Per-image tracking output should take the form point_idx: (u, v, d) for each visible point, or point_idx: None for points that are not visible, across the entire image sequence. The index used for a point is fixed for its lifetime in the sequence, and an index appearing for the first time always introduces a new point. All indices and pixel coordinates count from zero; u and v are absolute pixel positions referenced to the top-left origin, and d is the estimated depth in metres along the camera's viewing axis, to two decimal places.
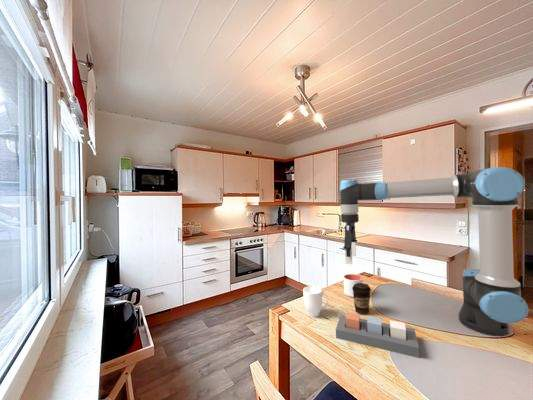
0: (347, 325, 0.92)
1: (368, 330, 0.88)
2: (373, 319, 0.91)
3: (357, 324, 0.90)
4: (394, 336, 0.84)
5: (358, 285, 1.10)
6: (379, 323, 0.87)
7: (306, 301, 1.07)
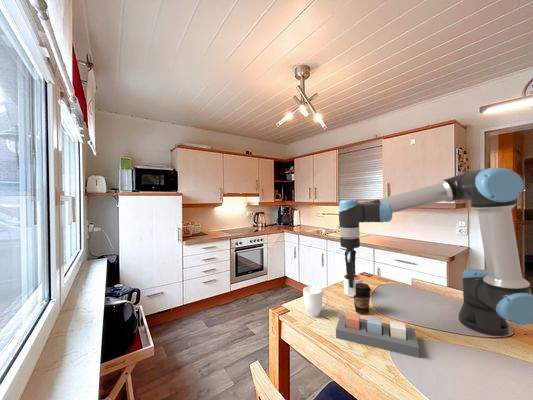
0: (347, 325, 0.92)
1: (368, 330, 0.88)
2: (373, 319, 0.91)
3: (357, 324, 0.90)
4: (394, 336, 0.84)
5: (358, 285, 1.10)
6: (379, 323, 0.87)
7: (306, 301, 1.07)
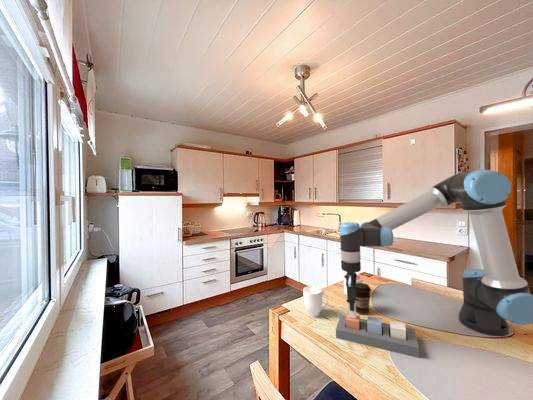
0: (347, 326, 0.92)
1: (368, 330, 0.88)
2: (373, 319, 0.91)
3: (357, 325, 0.90)
4: (394, 336, 0.84)
5: (358, 285, 1.10)
6: (379, 323, 0.87)
7: (306, 301, 1.07)
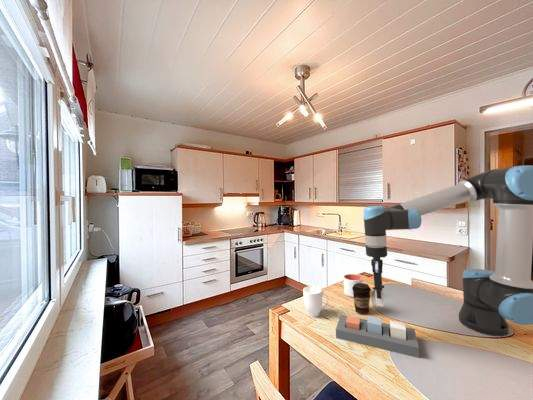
0: None
1: (368, 330, 0.88)
2: (373, 319, 0.91)
3: (357, 328, 0.90)
4: (394, 336, 0.84)
5: (358, 285, 1.10)
6: (379, 323, 0.87)
7: (306, 301, 1.07)
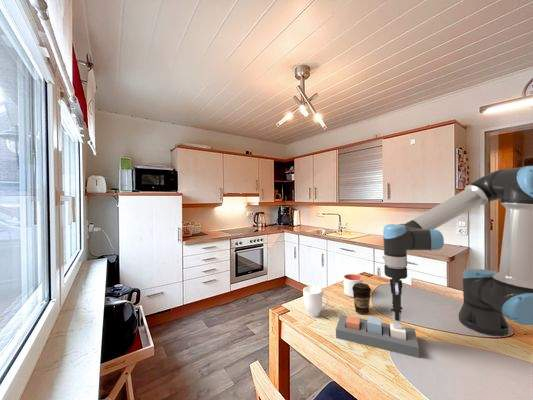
0: None
1: (368, 330, 0.88)
2: (373, 319, 0.91)
3: (357, 328, 0.90)
4: None
5: (358, 285, 1.10)
6: (379, 323, 0.87)
7: (306, 301, 1.07)
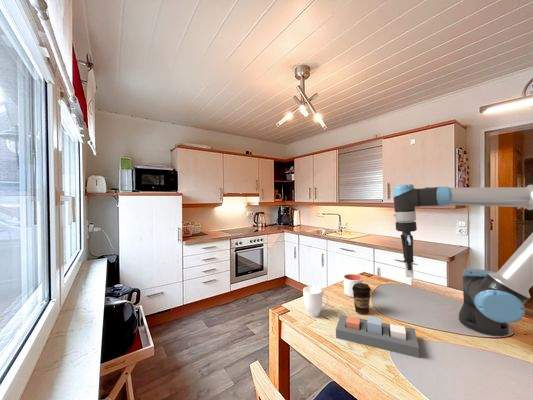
0: None
1: (368, 330, 0.88)
2: (373, 319, 0.91)
3: (357, 328, 0.90)
4: None
5: (358, 285, 1.10)
6: (379, 323, 0.87)
7: (306, 301, 1.07)
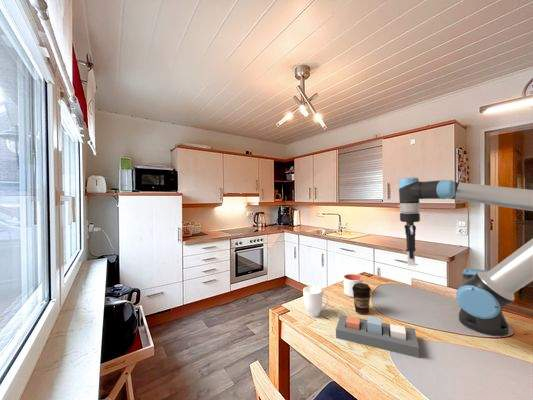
0: None
1: (368, 330, 0.88)
2: (373, 319, 0.91)
3: (357, 328, 0.90)
4: None
5: (358, 285, 1.10)
6: (379, 323, 0.87)
7: (306, 301, 1.07)
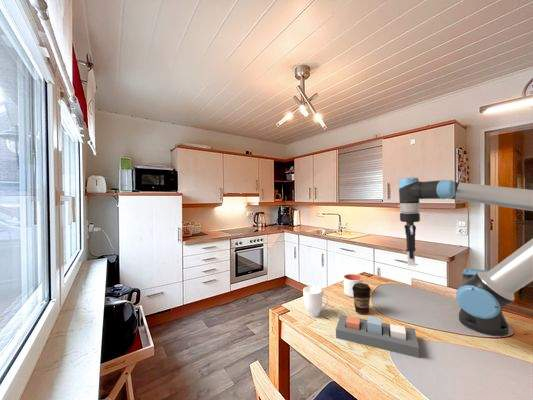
0: None
1: (368, 330, 0.88)
2: (373, 319, 0.91)
3: (357, 328, 0.90)
4: None
5: (358, 285, 1.10)
6: (379, 323, 0.87)
7: (306, 301, 1.07)
